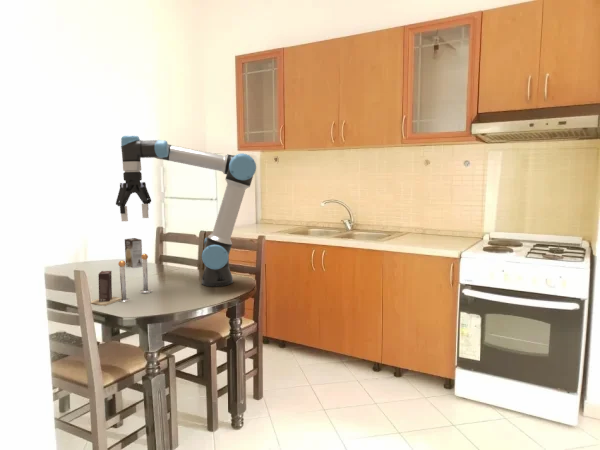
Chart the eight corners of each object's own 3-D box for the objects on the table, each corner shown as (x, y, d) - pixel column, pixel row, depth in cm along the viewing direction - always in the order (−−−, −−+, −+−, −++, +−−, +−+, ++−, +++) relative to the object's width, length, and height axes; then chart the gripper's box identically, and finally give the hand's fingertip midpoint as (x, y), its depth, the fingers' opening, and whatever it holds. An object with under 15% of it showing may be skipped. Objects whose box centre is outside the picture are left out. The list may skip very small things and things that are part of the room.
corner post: (132, 300, 188) (130, 259, 186) (124, 303, 184) (122, 262, 182) (123, 299, 190) (121, 259, 188) (115, 302, 185) (112, 261, 183)
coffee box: (125, 265, 258) (123, 239, 256) (135, 264, 263) (134, 237, 261) (132, 267, 252) (131, 240, 250) (143, 266, 257) (142, 239, 255)
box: (110, 301, 183) (108, 273, 181) (98, 302, 182) (97, 273, 180) (113, 297, 189) (111, 270, 187) (101, 298, 188) (100, 270, 186)
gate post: (153, 291, 201) (152, 253, 199) (146, 293, 196) (145, 254, 195) (145, 290, 203) (143, 252, 201) (137, 292, 198) (136, 254, 196)
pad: (122, 299, 188) (122, 297, 188) (104, 305, 179) (104, 304, 179) (106, 297, 191) (106, 295, 191) (88, 303, 182) (87, 302, 182)
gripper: (144, 171, 205) (146, 216, 207) (104, 171, 181) (108, 222, 184) (157, 171, 202) (160, 216, 205) (118, 171, 179) (122, 222, 181)
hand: (135, 219), depth 194 cm, fingers open, 13 cm apart
